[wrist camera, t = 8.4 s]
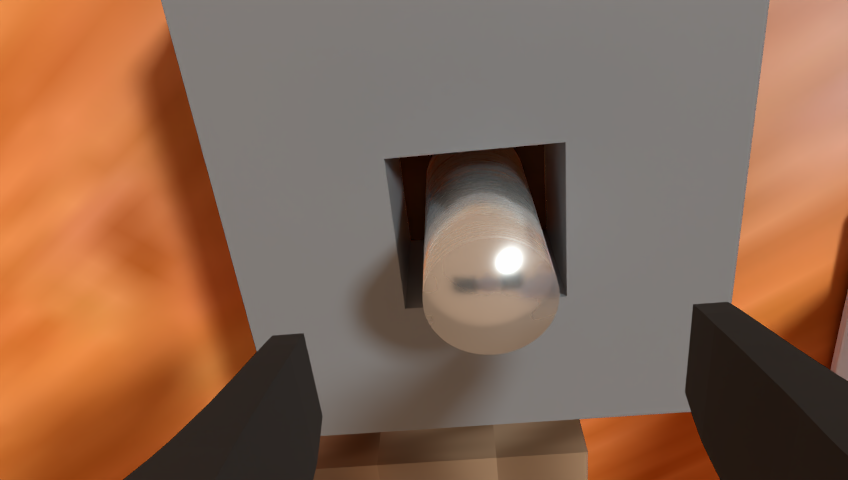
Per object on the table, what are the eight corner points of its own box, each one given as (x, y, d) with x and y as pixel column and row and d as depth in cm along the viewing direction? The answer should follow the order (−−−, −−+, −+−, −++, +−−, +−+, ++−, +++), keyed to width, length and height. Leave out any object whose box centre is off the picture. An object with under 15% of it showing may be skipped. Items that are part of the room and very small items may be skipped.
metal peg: (522, 128, 20) (560, 234, 14) (524, 218, 22) (558, 350, 15) (422, 135, 20) (416, 243, 14) (430, 224, 22) (428, 358, 16)
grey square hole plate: (710, -89, 17) (779, -81, 14) (676, 330, 24) (718, 410, 20) (212, -32, 18) (157, -12, 15) (303, 358, 24) (280, 438, 21)
